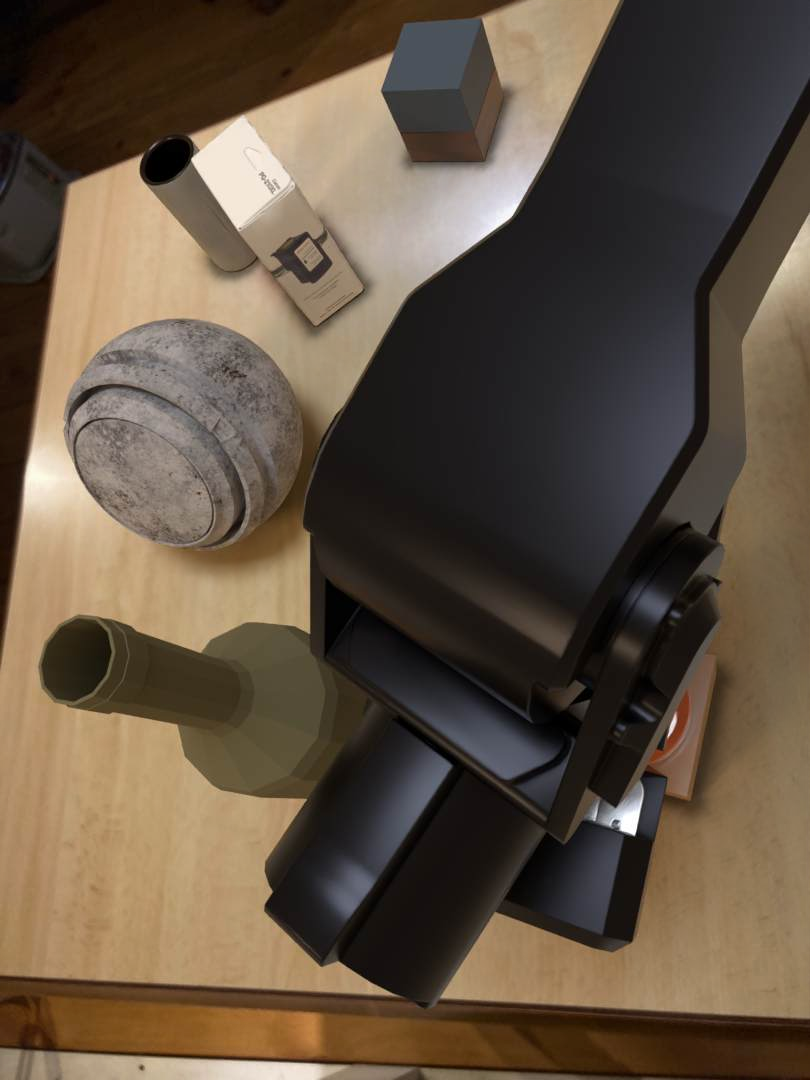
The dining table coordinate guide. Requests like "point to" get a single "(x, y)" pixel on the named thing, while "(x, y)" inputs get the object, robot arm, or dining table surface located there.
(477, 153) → the base block
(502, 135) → the dining table surface
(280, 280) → the ink box
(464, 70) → the top block
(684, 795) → the stand
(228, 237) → the planter
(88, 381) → the decorative orb
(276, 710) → the bottle
